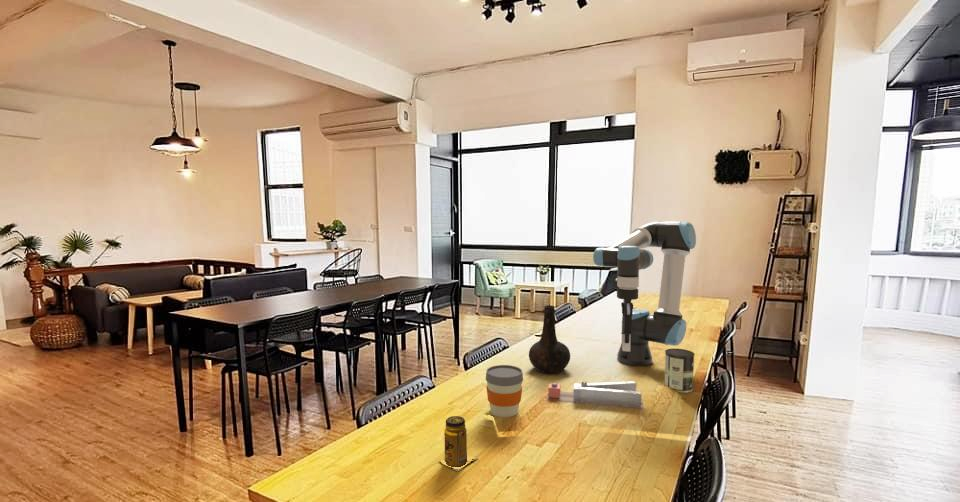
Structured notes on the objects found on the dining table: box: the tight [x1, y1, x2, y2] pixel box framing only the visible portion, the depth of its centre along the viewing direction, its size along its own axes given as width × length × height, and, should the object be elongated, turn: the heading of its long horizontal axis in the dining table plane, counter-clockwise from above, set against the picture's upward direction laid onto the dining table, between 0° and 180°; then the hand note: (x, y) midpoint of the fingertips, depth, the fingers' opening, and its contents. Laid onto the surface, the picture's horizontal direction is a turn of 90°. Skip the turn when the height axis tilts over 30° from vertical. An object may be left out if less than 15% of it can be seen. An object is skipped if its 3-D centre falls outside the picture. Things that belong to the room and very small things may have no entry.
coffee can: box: [664, 347, 695, 394], centre depth 173 cm, size 10×10×14 cm
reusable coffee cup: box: [485, 364, 524, 418], centre depth 151 cm, size 12×12×15 cm
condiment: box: [443, 415, 479, 472], centre depth 123 cm, size 7×8×12 cm
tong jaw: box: [581, 380, 637, 391], centre depth 161 cm, size 2×20×6 cm, turn 96°
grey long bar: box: [573, 382, 643, 409], centre depth 158 cm, size 5×23×5 cm, turn 76°
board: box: [546, 390, 645, 410], centre depth 160 cm, size 9×33×1 cm, turn 76°
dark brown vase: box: [528, 304, 571, 374], centre depth 193 cm, size 18×18×28 cm
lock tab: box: [547, 382, 561, 398], centre depth 163 cm, size 4×4×4 cm
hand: (626, 350), depth 168 cm, fingers closed
